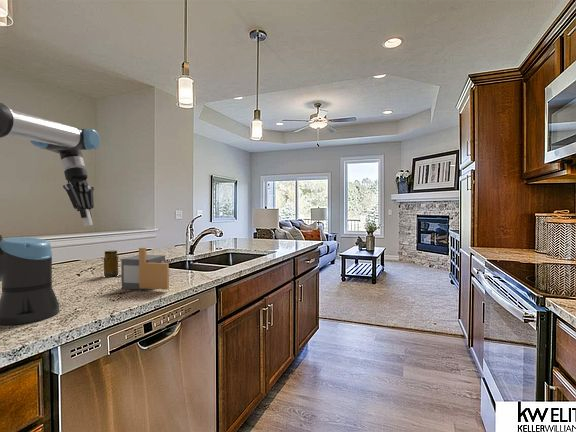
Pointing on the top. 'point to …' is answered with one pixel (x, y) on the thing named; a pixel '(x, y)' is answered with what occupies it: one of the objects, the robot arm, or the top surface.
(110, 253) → the condiment
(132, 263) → the housing
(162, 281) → the door
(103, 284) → the top surface
